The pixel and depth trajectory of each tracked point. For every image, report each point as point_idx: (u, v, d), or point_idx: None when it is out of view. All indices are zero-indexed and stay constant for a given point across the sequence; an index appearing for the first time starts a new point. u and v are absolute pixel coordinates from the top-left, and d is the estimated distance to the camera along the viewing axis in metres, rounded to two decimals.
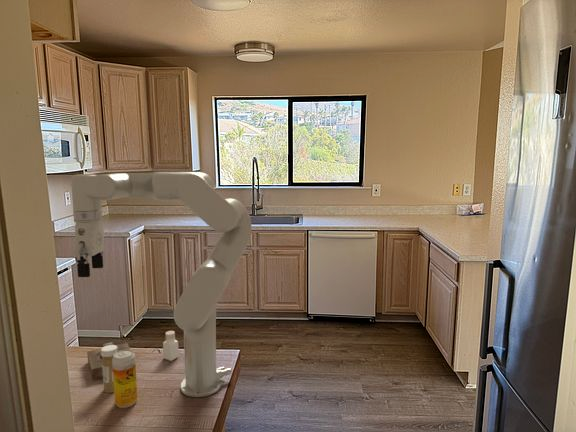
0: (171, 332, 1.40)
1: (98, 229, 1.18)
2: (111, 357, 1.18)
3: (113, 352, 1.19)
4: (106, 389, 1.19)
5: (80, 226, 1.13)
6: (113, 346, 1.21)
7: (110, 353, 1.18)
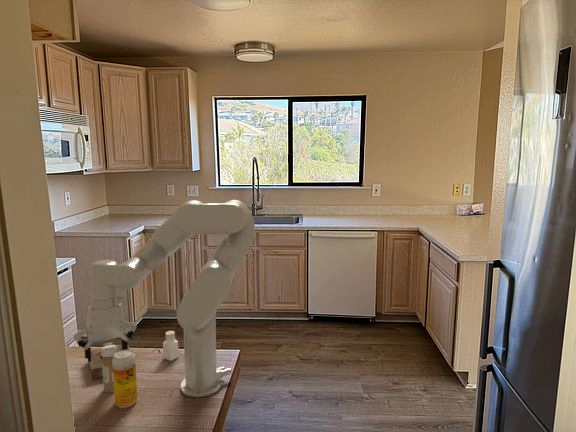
0: (171, 332, 1.40)
1: None
2: (111, 357, 1.18)
3: (113, 352, 1.19)
4: (106, 389, 1.19)
5: (121, 307, 1.20)
6: (113, 346, 1.21)
7: (110, 353, 1.18)
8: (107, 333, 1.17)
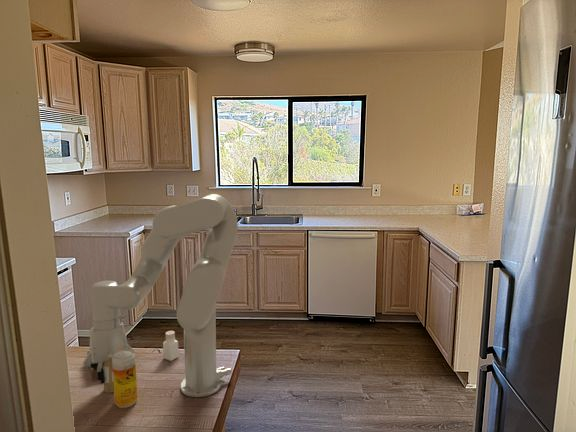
0: (171, 332, 1.40)
1: None
2: None
3: None
4: (106, 389, 1.19)
5: None
6: None
7: None
8: (110, 353, 1.18)
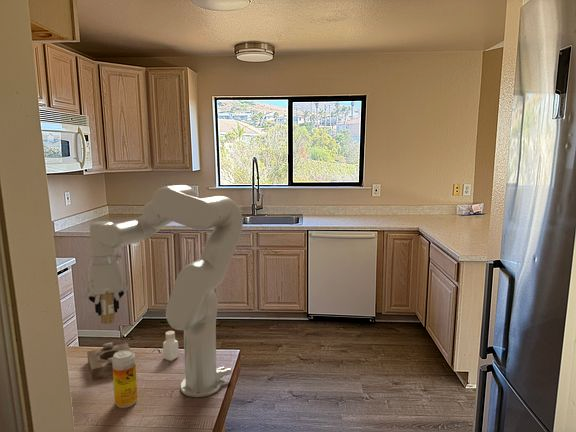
0: (171, 332, 1.40)
1: None
2: None
3: None
4: (103, 321, 1.30)
5: (119, 264, 1.32)
6: None
7: None
8: (107, 287, 1.29)
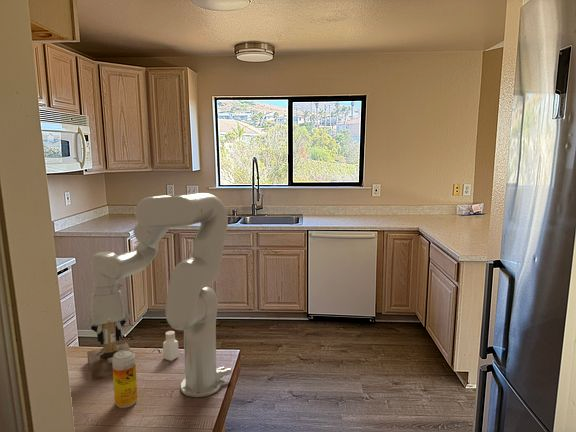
0: (171, 332, 1.40)
1: None
2: None
3: None
4: (105, 349, 1.32)
5: (121, 294, 1.34)
6: None
7: None
8: (109, 316, 1.31)
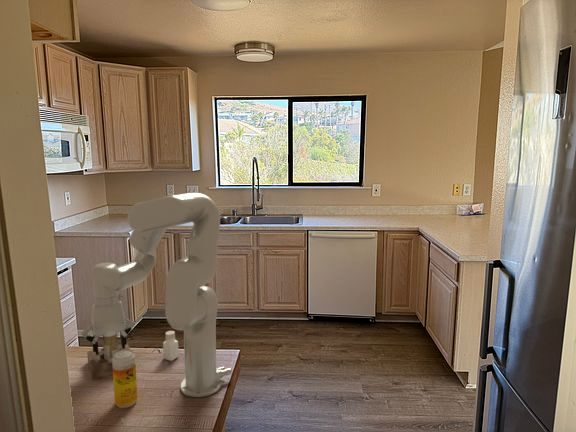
0: (171, 332, 1.40)
1: None
2: (111, 337, 1.32)
3: (113, 332, 1.32)
4: None
5: None
6: None
7: (110, 333, 1.32)
8: (109, 327, 1.31)
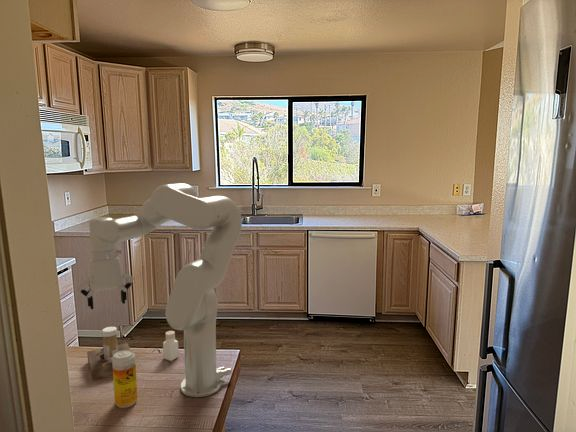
0: (171, 332, 1.40)
1: None
2: (111, 337, 1.32)
3: (113, 332, 1.32)
4: None
5: (119, 260, 1.32)
6: (113, 327, 1.34)
7: (110, 333, 1.32)
8: (107, 282, 1.29)
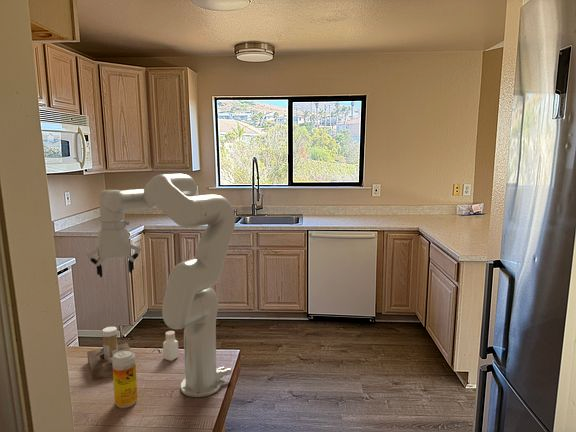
0: (171, 332, 1.40)
1: None
2: (111, 337, 1.32)
3: (113, 332, 1.32)
4: None
5: (127, 231, 1.39)
6: (113, 327, 1.34)
7: (110, 333, 1.32)
8: (115, 252, 1.35)
